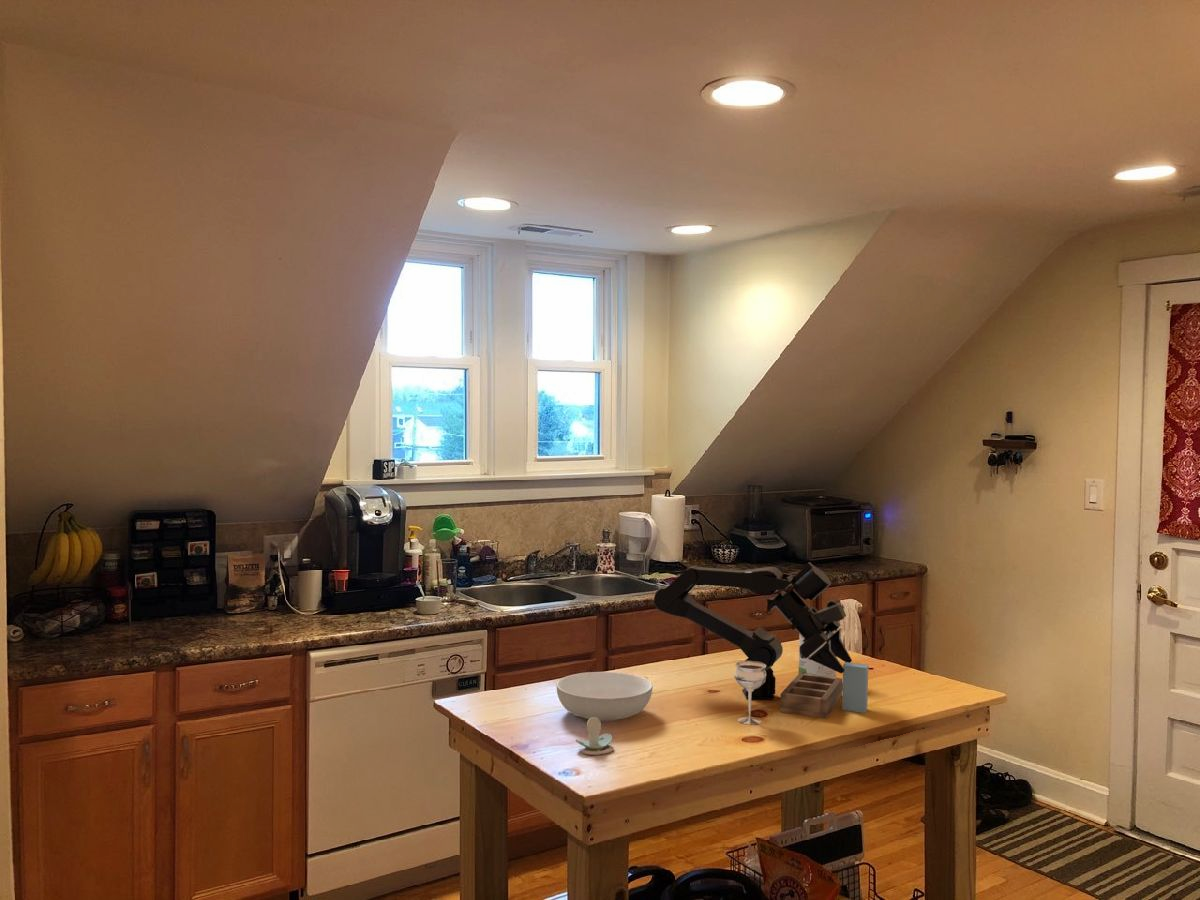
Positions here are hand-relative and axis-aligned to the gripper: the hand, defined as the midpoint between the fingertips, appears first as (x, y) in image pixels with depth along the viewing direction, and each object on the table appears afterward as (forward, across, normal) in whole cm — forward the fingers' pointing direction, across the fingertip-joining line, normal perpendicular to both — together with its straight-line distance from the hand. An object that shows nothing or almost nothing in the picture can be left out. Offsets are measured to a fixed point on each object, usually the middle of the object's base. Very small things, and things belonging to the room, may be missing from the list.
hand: (846, 667), depth 207 cm
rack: (+1, 0, +12) cm, 12 cm away
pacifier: (-21, -49, +34) cm, 63 cm away
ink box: (-1, +20, +14) cm, 24 cm away
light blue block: (+8, 0, +5) cm, 9 cm away
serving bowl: (-26, -29, +39) cm, 55 cm away
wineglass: (-5, -18, +19) cm, 27 cm away
